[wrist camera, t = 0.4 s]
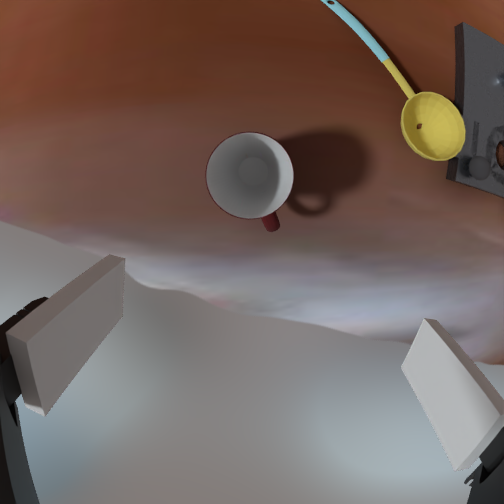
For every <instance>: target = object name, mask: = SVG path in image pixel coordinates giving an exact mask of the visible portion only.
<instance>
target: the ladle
mask: <svg viewBox="0 0 504 504" xmlns="http://www.w3.org/2000/svg"><path fill="white" fill-rule="evenodd" d="M321 1H322V2H324V3H325V4H326V5H327V6H328V7H329V8H331V9H332V10H333V11H334V12H335V13H336V14H337V15H338V16H340V17H341V18H342V19H343V20H344V21H345V22H346V23H347V24H348V25H349V26H350V27H351V28H352V29H353V30H354V31H355V32H356V33H357V34H358V35H359V36H360V37H361V39H362V40H363V41H364V42H365V43H366V44H367V45H368V46H369V47H370V49H371V50H372V51H373V52H374V53H375V55H376V56H377V57H378V58H379V60H380V61H381V62H383V64H384V65H385V66H386V68H387V69H388V70H389V72H390V73H391V74H392V76H393V77H394V78H395V80H396V81H397V83H398V84H399V85H400V87H401V88H402V90H403V91H404V92H405V94H406V95H407V97H408V98H409V100H408V101H407V102H406V104H405V106H404V108H403V110H402V114H401V128H402V133H403V136H404V138H405V140H406V142H407V144H408V145H409V146H410V147H411V148H412V149H413V150H414V152H416V153H417V154H419V155H420V156H422V157H423V158H426V159H430V160H433V161H441V160H448V159H451V158H453V157H455V156H456V155H457V154H458V153H459V152H460V151H461V150H462V147H463V145H464V142H465V134H466V130H465V125H464V121H463V118H462V116H461V114H460V113H459V111H458V109H457V108H456V107H455V106H454V105H453V103H452V102H451V101H449V100H448V99H446V98H445V97H443V96H442V95H439V94H436V93H433V92H420V93H418V94H415V93H414V91H413V90H412V89H411V87H410V86H409V84H408V83H407V81H406V80H405V79H404V77H403V76H402V74H401V73H400V72H399V70H398V69H397V68H396V66H395V65H394V64H393V62H392V61H391V60H390V58H389V56H388V55H387V54H386V53H385V51H384V50H383V49H382V48H381V46H380V45H379V44H378V43H377V41H376V40H375V39H374V38H373V37H372V36H371V34H370V33H369V32H368V31H367V30H366V29H365V28H364V27H363V26H362V25H361V24H360V22H359V21H358V20H357V19H356V18H355V17H354V16H353V15H352V14H350V13H349V12H348V11H347V10H346V9H345V8H344V7H343V6H342V5H340V4H339V3H338V2H337V1H336V0H330V1H333V2H334V3H335V4H334V5H331V4H328V3H327V1H329V0H321ZM419 123H422V128H421V129H416V128H417V125H418V124H419Z"/></svg>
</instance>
